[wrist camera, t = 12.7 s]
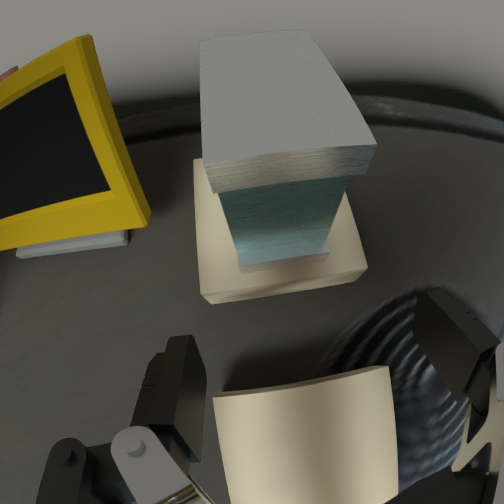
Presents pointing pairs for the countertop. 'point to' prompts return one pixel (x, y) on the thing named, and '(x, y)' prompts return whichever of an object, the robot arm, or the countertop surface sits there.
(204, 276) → the stand
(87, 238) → the toy computer monitor
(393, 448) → the stand
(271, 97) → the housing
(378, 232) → the countertop surface
